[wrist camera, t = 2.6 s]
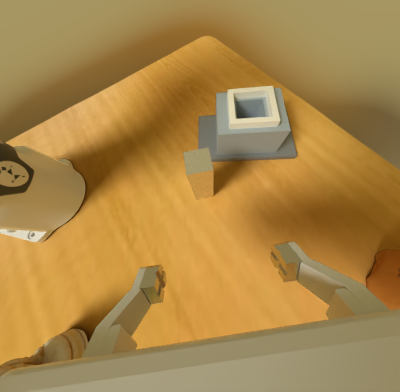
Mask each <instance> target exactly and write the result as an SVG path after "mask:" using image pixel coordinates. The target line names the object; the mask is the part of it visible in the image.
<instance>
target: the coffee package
mask: <svg viewBox="0 0 400 392" xmlns="http://www.w3.org/2000/svg"><path fill="white" fill-rule="evenodd" d="M375 259H376V261H375V265H374V266H373V268H372V272H371V274H370V276H369V277H367V279H366V283H367V289H368V290H369V291H371V292H372V293H373V294H374V295H375V296H376V297H377V298H378V299H379V300H380V301H381V302H383V303H384V304H385V305H386V306H387V307H388V308H389V309H390V310H394V309H400V251H399V250H388V249H386V250H384V251H382V252H379V253H377V254H376V256H375Z"/></svg>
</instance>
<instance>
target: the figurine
mask: <svg viewBox="0 0 400 392" xmlns="http://www.w3.org/2000/svg"><path fill="white" fill-rule="evenodd" d="M87 345H88V340H87V336H86V334H85V332H84V331H82V330H79V329H72V328H71V329H70V330H67V331H66V332H63V333H61V334H59V335H58V336H55V337H53V338H51V339H50V340H48V341H47V342H46V343H45V344H44V345H43V346H42V347H40V348H38V349H37V350H36V352H35V353H34V355H32V356H31V357H25V358H17V359H13V360H10V361H8V362H5V363H4V364H2V365H0V377H1V376H2V375H3V374H5V373H6V372H8V371H10V370H12V369H16V368H21V367H28V366H35V365H41V364H47V363H54V362H60V361H67V360H73V359H79V358H82V356H83V353H84V351H85V349H86V347H87Z"/></svg>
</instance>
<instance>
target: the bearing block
mask: <svg viewBox="0 0 400 392" xmlns="http://www.w3.org/2000/svg"><path fill="white" fill-rule="evenodd" d="M273 89H274V94H275V98H276V103H277V107H278V112H279V117H280V122H279V124H278V126H277V127H262V128H245V129H229V118H228V104H227V92H222V93H216V115H211V116H199V147H198V149H203V148H208V147H209V152H210V156H211V161H212V162H221V161H245V160H269V159H293V158H295V157H296V156H297V153H296V149H295V144H294V140H293V136H292V132H291V128H290V123H289V119H288V115H287V111H286V109H285V104H284V100H283V96H282V92H281V88H273ZM234 105H235V116H236V119H242V118H257V117H269V113H268V108H267V102H266V97H256V98H243V99H234Z"/></svg>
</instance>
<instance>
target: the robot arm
mask: <svg viewBox="0 0 400 392" xmlns="http://www.w3.org/2000/svg"><path fill="white" fill-rule="evenodd" d="M84 195H85V182H84V179H83V177H82V176H81V175H80V174H79V173H78V172H77V171H76V170H75V169H74V168H73V165H72V163H71V162H70V161H69V160H67V159H60V160H56V159H54V158H51V157H49V156H47V155H45V154H43V153H40V152H38V151H36V150H34V149H31V148H29V147H26V146H16V147H12V146H10V145H8V144H6V143H4V142H2V141H0V233H2V234H5V235H9V236H13V237H17V238H21V239H25V240H28V241H32V242H43V241H44V240H45V239H47V238H48V236H49V235H50V234H51V233H52V232H53V231H54V230H55V229H57V228H58V227H60V226H61V225H63V224H65V223H66V222H67V221H68V220H70V219H71V218H72V217H73V216H74V214H75V213H76V212H77V211H78V209H79V207H80V206H81V204H82V202H83V199H84ZM271 250H272V252H271V260H272V262H273V264H274V266H275V267H276V268H278V269H279V272H278V273H279V275H280V276H281V278H282V279H283V281H284V282H288V281H295V280H297V281H298V282H299V283H300V284H302V285H303V286H304V287H306V288H307V289H308V290H310V291H311V292H312V293H314V294H315V295H316V296H318V297H319V298H320V299H322V300H323V301H324V302H326V303H327V304H328V305H329V307H328V310H327V313H326V315H327V317H328V318H329V320H323V321H316V322H310V323H304V324H297V325H291V326H284V327H278V328H271V329H265V330H259V331H252V332H246V333H239V334H233V335H227V336H220V337H214V338H207V339H201V340H194V341H188V342H182V343H175V344H169V345H163V346H156V347H150V348H143V349H137V350H136V347H137V343H136V342H135V340H134V339H133V338H132V337H131V336H132V335H133V333H134V332H135V330H136V328H137V327H138V325H139V324H140V322H141V320H142V319H143V317H144V316H145V314H146V312H147V311H148V309H149V308H150V306H151V304H156V303H161V302H163V298H164V290H163V288H164V287H165V285H166V274H165V271H163V270H162V269H163V267H162V265H154V266H148V267H142V268H140V269H139V271H138V273H137V276H136V279H135V282H134V284H133V287H132V290H131V291H129V292H128V293H127V294H126V295H125V296H124V297H123V298H122V299H121V300H120V302H119V303H118V304H117V305H116V306H115V307H114V308H113V309H112V310H111V311H110V312H109V314H108V315H107V316H106V317H105V318H104V319H103V320H102V321H101V322H100V323H99V325H98V326H97V327H96V328H95V330H94V333H93V335H92V337H91V339H90V341H89V343H88V345H87V347H86V349H85V351H84V353H83V356H82V358H79V359H73V360H67V361H60V362H54V363H47V364H41V365H35V366H28V367H21V368H16V369H12V370H10V371H8V372H6V373H5V374H3V375H2V376H1V377H0V392H400V309H394V310H390V309H389V308H388V307H387V306H386V305H385V304H384V303H383V302H381V301H380V300H379V299H378V298H377V297H376V296H375V295H374V294H373V293H372V292H371V291H369V290H368V289H367V288H366V287H365V286H364V285H363V284H361V283H359V282H357V281H355V280H353V279H351V278H349V277H347V276H345V275H343V274H341V273H339V272H337V271H335V270H333V269H331V268H329V267H327V266H325V265H323V264H321V263H319V262H317V261H315V260H311V259H310V258H309V257H308V256H307V255H306V254H305V252H304V251H303V250H302V249H301V248H300V247H299V246H298V245H297V244H296V243H295V242H294V241H291V242H286V243H280V244H274V245H272V246H271Z"/></svg>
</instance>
